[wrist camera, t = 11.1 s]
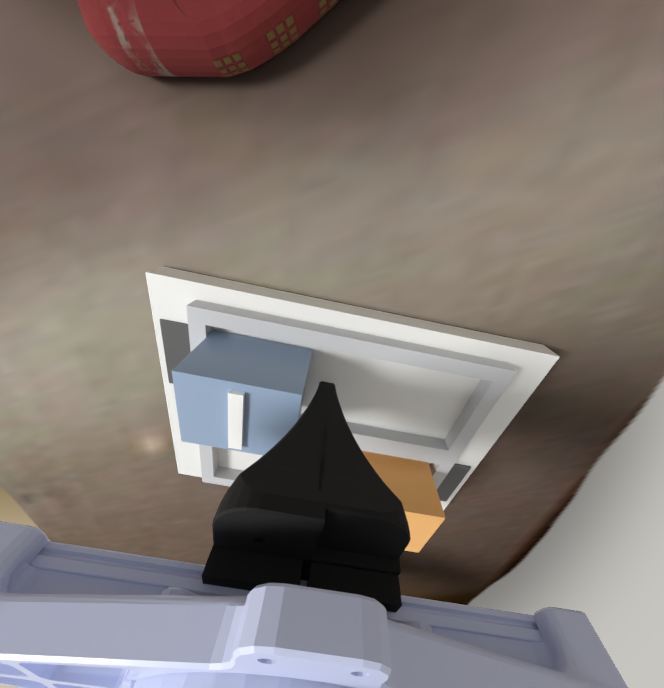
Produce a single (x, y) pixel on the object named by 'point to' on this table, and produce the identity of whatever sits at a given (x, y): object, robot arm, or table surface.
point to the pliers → (198, 33)
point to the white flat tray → (357, 372)
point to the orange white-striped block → (411, 494)
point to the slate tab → (240, 392)
